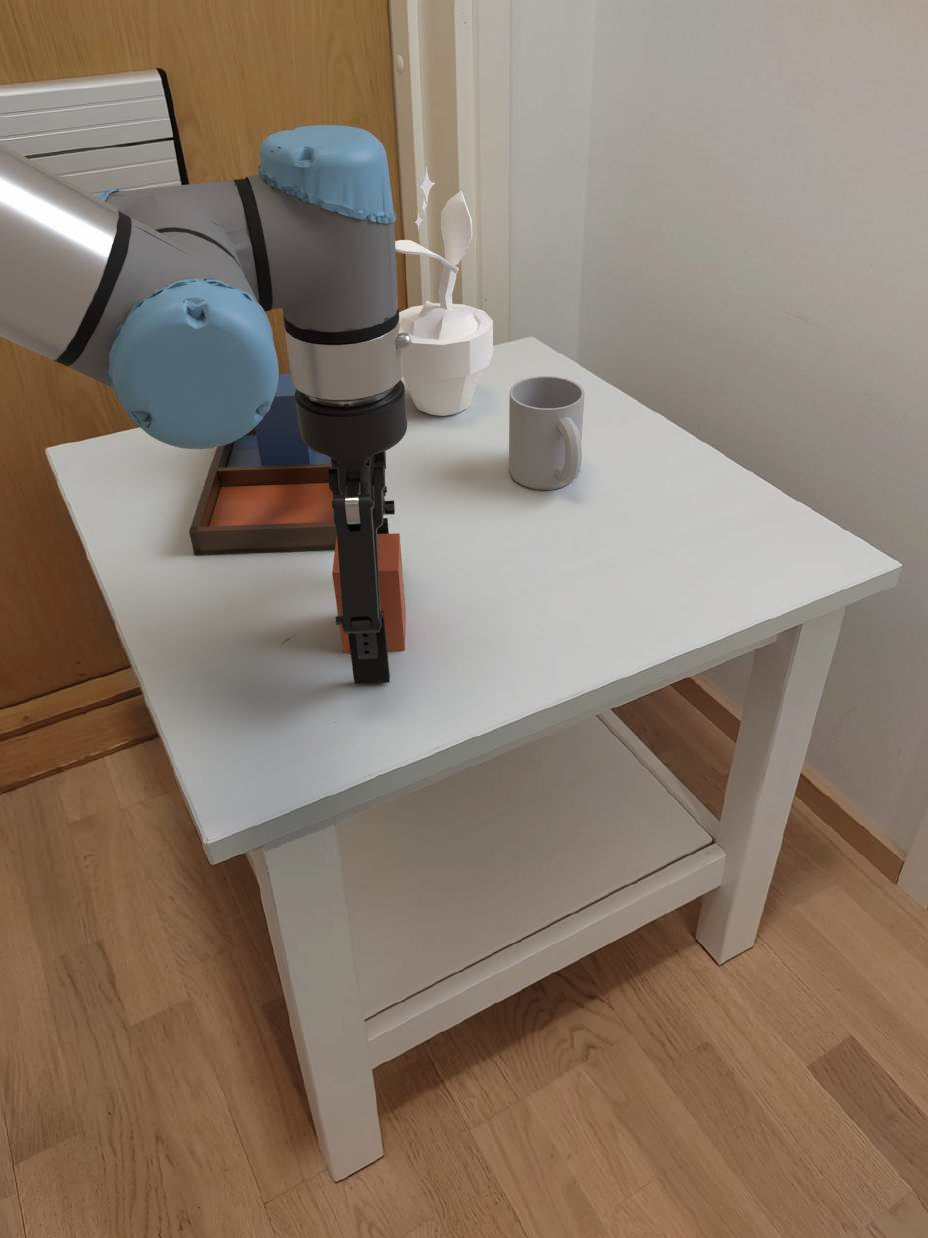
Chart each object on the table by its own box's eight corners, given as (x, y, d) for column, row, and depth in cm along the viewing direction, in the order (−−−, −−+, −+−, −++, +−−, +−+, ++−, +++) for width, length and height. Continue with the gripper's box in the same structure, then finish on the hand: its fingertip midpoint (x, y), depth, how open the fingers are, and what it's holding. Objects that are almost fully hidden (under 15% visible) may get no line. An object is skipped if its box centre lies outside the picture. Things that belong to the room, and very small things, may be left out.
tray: (194, 555, 88) (188, 531, 86) (230, 438, 105) (226, 417, 103) (346, 549, 88) (344, 525, 86) (358, 434, 105) (355, 412, 103)
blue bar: (261, 468, 98) (249, 397, 93) (267, 444, 102) (255, 374, 97) (310, 466, 98) (300, 395, 93) (314, 443, 102) (305, 372, 97)
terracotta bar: (342, 653, 77) (332, 573, 72) (346, 614, 80) (336, 535, 75) (405, 650, 77) (398, 570, 72) (405, 611, 81) (399, 533, 76)
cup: (557, 449, 101) (561, 370, 96) (606, 494, 94) (613, 412, 89) (496, 464, 99) (496, 384, 93) (542, 511, 92) (545, 428, 86)
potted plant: (456, 373, 116) (450, 151, 100) (513, 409, 109) (516, 175, 93) (366, 402, 111) (344, 171, 95) (418, 441, 103) (405, 198, 87)
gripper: (402, 471, 55) (421, 732, 69) (405, 313, 74) (420, 543, 88) (273, 476, 55) (317, 736, 69) (309, 316, 74) (338, 546, 88)
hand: (374, 629), depth 78 cm, fingers open, 12 cm apart
